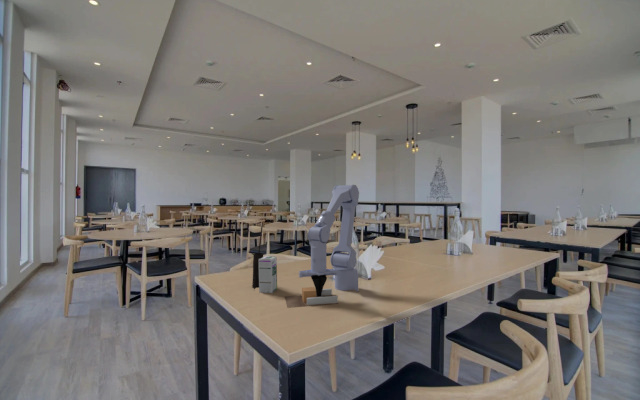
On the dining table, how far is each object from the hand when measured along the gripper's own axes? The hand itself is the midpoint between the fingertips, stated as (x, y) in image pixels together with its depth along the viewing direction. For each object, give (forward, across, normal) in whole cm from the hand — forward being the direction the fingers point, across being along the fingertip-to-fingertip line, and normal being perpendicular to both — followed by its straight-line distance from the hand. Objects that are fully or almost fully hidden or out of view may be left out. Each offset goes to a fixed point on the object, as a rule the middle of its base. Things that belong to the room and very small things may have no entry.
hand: (318, 295), depth 110 cm
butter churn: (+3, -23, +24) cm, 33 cm away
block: (+1, -4, 0) cm, 4 cm away
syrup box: (+3, -18, +15) cm, 24 cm away
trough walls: (+1, 0, 0) cm, 1 cm away
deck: (+2, -3, 0) cm, 4 cm away
